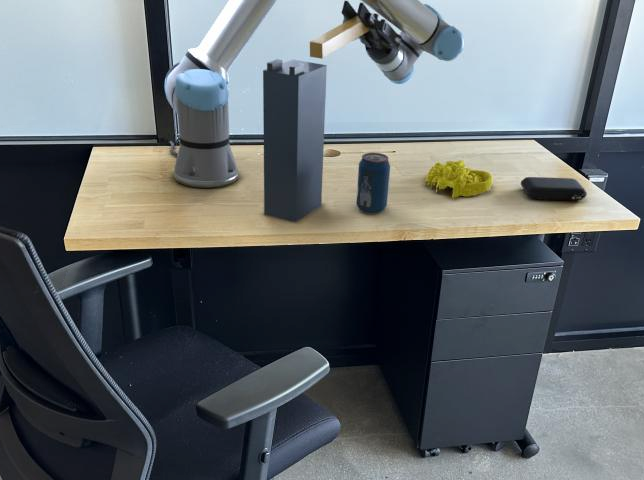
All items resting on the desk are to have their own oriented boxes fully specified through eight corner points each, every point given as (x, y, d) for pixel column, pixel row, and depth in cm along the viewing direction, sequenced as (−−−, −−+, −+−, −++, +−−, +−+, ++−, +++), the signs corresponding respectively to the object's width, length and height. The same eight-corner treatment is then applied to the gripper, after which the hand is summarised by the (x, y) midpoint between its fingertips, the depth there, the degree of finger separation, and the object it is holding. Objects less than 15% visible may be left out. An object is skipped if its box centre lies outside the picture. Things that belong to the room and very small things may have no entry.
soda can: (385, 204, 171) (389, 152, 164) (387, 215, 166) (392, 162, 159) (355, 203, 171) (358, 151, 164) (356, 214, 165) (360, 161, 158)
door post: (290, 197, 172) (292, 51, 154) (321, 204, 169) (327, 57, 151) (264, 214, 163) (262, 61, 145) (295, 222, 160) (298, 68, 142)
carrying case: (528, 202, 176) (588, 204, 177) (531, 190, 175) (592, 192, 176) (517, 186, 185) (575, 188, 186) (520, 174, 183) (578, 176, 184)
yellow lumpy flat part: (502, 192, 182) (505, 175, 179) (447, 200, 175) (450, 183, 173) (463, 170, 193) (465, 154, 191) (411, 177, 187) (413, 160, 185)
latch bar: (362, 26, 173) (363, 12, 171) (374, 27, 172) (375, 13, 170) (309, 56, 156) (309, 41, 154) (322, 58, 155) (322, 43, 153)
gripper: (358, 30, 187) (323, -14, 165) (418, 38, 181) (390, -6, 160) (351, 60, 188) (315, 20, 166) (410, 69, 182) (381, 30, 161)
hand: (352, 8), depth 163 cm, fingers closed on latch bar, 3 cm apart
